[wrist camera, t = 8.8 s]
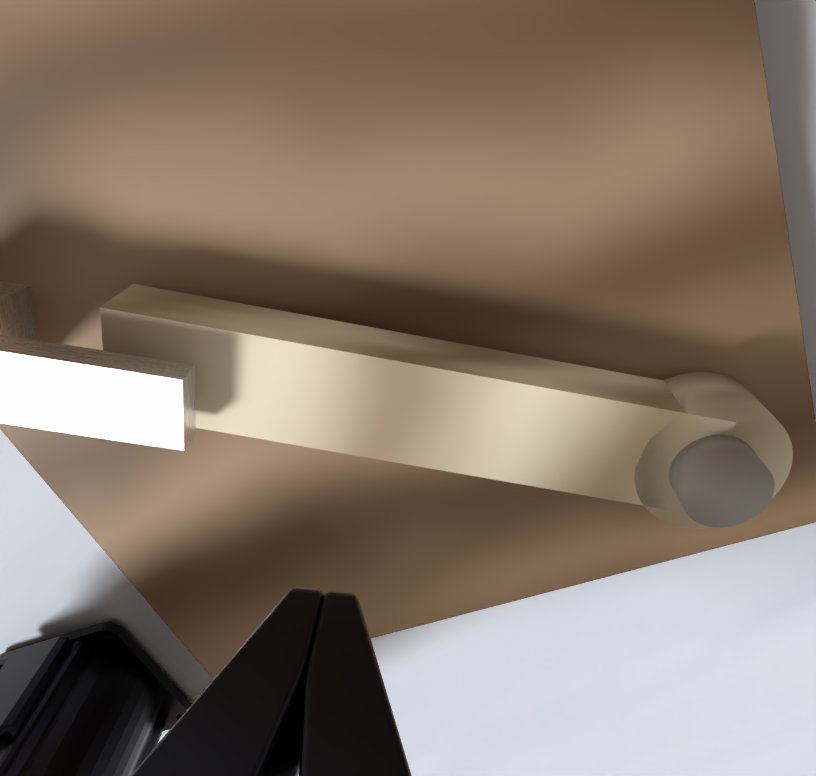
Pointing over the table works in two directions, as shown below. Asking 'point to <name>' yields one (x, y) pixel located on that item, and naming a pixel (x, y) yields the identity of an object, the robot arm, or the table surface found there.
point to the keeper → (89, 385)
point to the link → (465, 406)
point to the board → (396, 265)
